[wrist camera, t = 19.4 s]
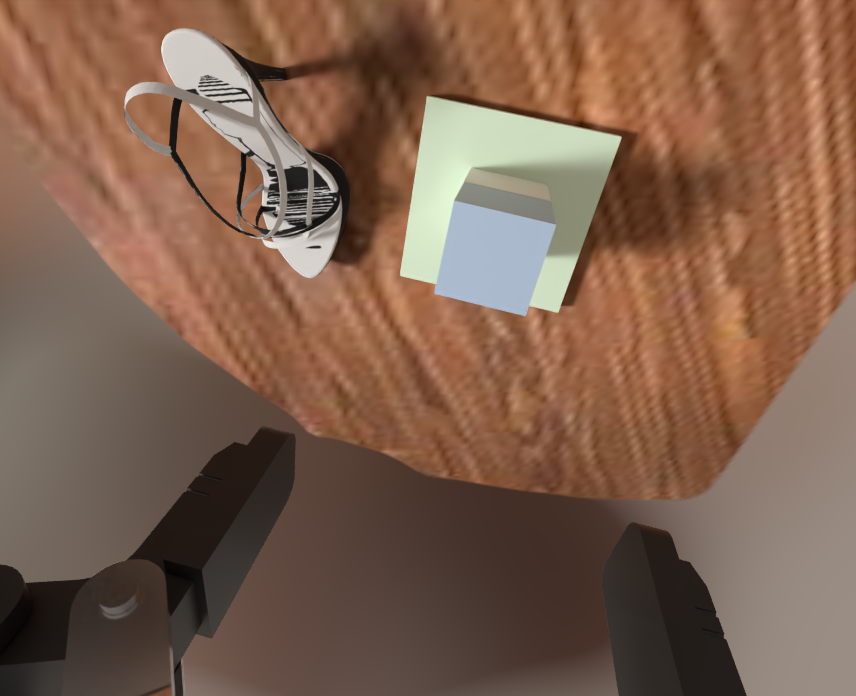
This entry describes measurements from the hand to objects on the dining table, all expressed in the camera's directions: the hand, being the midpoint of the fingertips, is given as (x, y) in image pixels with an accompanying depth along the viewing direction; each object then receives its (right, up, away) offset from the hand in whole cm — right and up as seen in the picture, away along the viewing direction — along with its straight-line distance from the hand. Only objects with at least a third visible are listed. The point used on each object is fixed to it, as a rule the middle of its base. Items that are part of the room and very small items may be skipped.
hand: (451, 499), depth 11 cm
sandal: (-10, +18, +25) cm, 32 cm away
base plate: (+5, +14, +24) cm, 28 cm away
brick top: (+4, +11, +18) cm, 22 cm away
